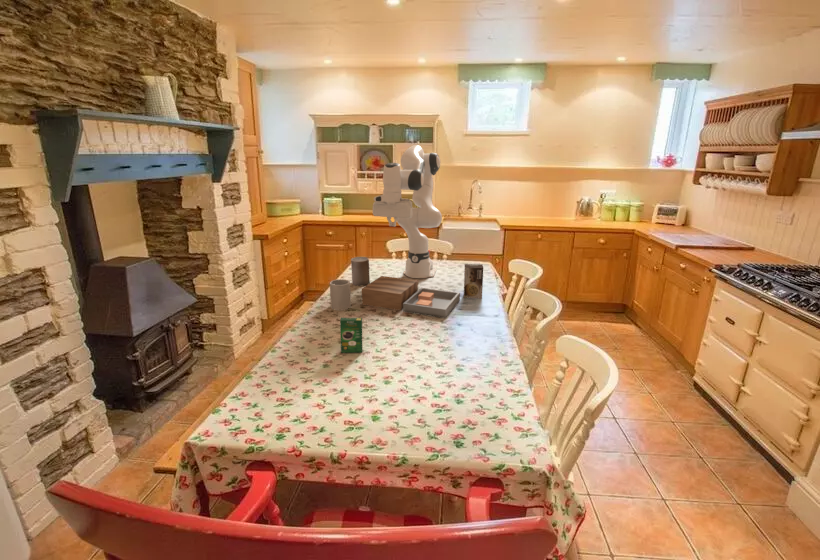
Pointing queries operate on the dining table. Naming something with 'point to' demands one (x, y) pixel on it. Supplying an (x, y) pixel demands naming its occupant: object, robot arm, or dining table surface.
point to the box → (433, 303)
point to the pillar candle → (360, 271)
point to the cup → (340, 294)
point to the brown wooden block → (389, 292)
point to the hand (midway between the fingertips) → (392, 226)
